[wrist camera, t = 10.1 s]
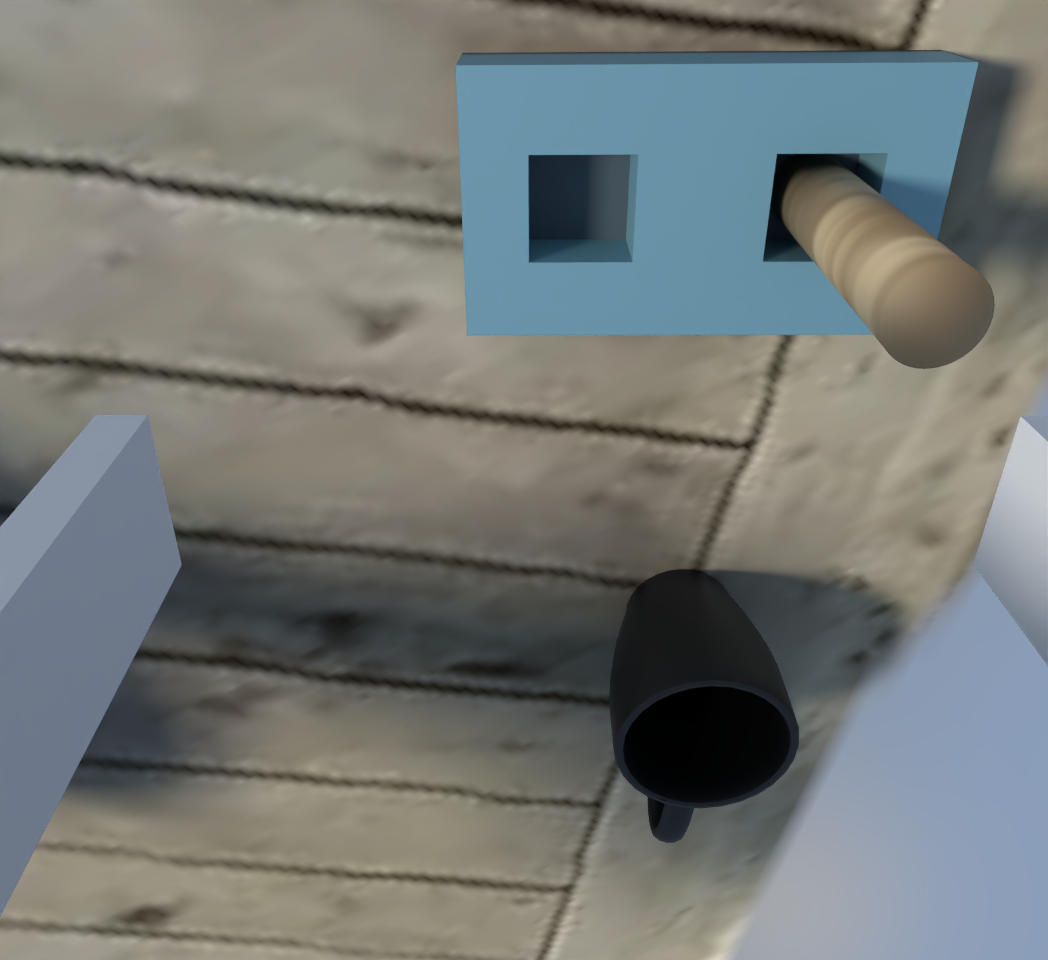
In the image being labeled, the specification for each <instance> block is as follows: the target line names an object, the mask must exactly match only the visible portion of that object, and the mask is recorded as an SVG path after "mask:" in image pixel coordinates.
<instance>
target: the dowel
mask: <svg viewBox="0 0 1048 960" xmlns="http://www.w3.org/2000/svg"><path fill="white" fill-rule="evenodd" d="M770 206H771V208H772V210H773V212H774V213H775V215H776V216H777V217H778V218H779V220H780V221H781V222H782V223H783V225H784V226H785V227H786V228H787V230H788V231H789V232H790V233H791V234H792V236H793V237H794V238H795V239H796V241H797V242H798V243H799V244H800V245H801V247H802V248H803V249H804V250H805V252H806V253H807V254H808V255H809V256H810V258H811V259H812V260H813V261H814V263H815V264H816V265H817V266H818V267H819V269H820V270H821V271H822V272H823V274H824V275H825V276H826V277H827V278H828V280H829V281H830V282H831V283H832V285H833V286H834V287H835V288H836V289H837V291H838V292H839V293H840V294H841V296H842V297H843V298H844V299H845V301H846V302H847V303H848V304H849V305H850V307H851V308H852V309H853V310H854V312H855V313H856V314H857V315H858V316H859V318H860V319H861V320H862V321H863V323H864V324H865V325H866V326H867V327H868V329H869V330H870V331H871V332H872V334H873V335H874V336H875V337H876V338H877V340H878V341H879V342H880V343H881V345H882V346H883V347H884V348H885V349H886V351H887V352H888V353H889V354H890V355H891V356H892V357H893V358H894V359H895V360H897V361H898V362H900V363H902V364H904V365H906V366H909V367H914V368H922V369H927V368H936V367H940V366H944V365H947V364H949V363H952V362H954V361H956V360H958V359H960V358H961V357H963V356H964V355H966V354H967V353H968V352H970V351H971V350H972V349H973V348H974V347H975V346H976V345H977V344H978V343H979V342H980V340H981V339H982V338H983V337H984V335H985V333H986V332H987V330H988V328H989V326H990V324H991V321H992V318H993V313H994V296H993V292H992V289H991V287H990V285H989V283H988V282H987V280H986V279H985V278H984V277H983V276H982V275H981V274H980V273H979V272H978V271H976V270H975V269H974V268H972V267H971V266H970V265H969V264H967V263H966V262H965V261H964V260H962V259H961V258H960V257H959V256H957V255H956V254H955V253H954V252H952V251H951V250H950V249H948V248H947V247H946V246H945V245H943V244H942V243H941V242H940V241H938V240H937V239H936V238H935V237H933V236H932V235H931V234H930V233H928V232H927V231H926V230H924V229H923V228H922V227H921V226H919V225H918V224H917V223H916V222H914V221H913V220H912V219H911V218H909V217H908V216H907V215H906V214H904V213H903V212H902V211H900V210H899V209H898V208H897V207H895V206H894V205H893V204H892V203H890V202H889V201H888V200H887V199H885V198H884V197H883V196H882V195H880V194H879V193H878V192H876V191H875V190H874V189H873V188H871V187H870V186H869V185H868V184H866V183H865V182H864V181H863V180H861V179H860V178H859V177H858V176H856V175H855V174H854V173H852V172H851V171H850V170H849V169H847V168H846V167H845V166H844V165H842V164H841V163H840V162H839V161H837V160H836V159H835V158H834V157H832V156H831V155H829V154H794V155H792V156H790V157H789V158H787V159H786V160H785V161H784V162H783V163H782V164H781V165H780V166H779V167H778V168H777V169H776V171H775V173H774V180H773V188H772V195H771V203H770Z"/></svg>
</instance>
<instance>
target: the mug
mask: <svg viewBox="0 0 1048 960" xmlns="http://www.w3.org/2000/svg"><path fill="white" fill-rule="evenodd" d="M609 701H610V715H611V726H612V736H613V747H614V753H615V760H616V763H617V765H618V767H619V769H620V770H621V772H622V774H623V776H624V777H625V778H626V780H627V781H628V782H629V783H630V784H631V785H632V786H633V787H634V788H635V789H637V790H638V791H640V792H641V793H643V794H644V795H646V796H647V797H648V814H649V822H650V827H651V831H652V834H653V836H655V837H656V838H657V839H658V840H660V841H663V842H666V843H674V842H676V841H679V840H681V839H682V837H683V836H684V834H685V832H686V830H687V828H688V826H689V823H690V820H691V817H692V814H693V810H694V808H709V807H719V806H724V805H728V804H732V803H736V802H740V801H743V800H745V799H747V798H750V797H752V796H755V795H757V794H759V793H760V792H762V791H763V790H765V789H767V788H768V787H770V786H771V785H773V784H774V783H775V782H776V781H777V780H778V779H779V778H780V777H781V776H782V775H783V774H784V773H785V772H786V771H787V769H788V768H789V766H790V765H791V763H792V762H793V760H794V758H795V754H796V751H797V748H798V744H799V727H798V724H797V721H796V718H795V715H794V712H793V709H792V706H791V703H790V700H789V697H788V694H787V691H786V688H785V685H784V682H783V679H782V676H781V674H780V671H779V668H778V665H777V663H776V661H775V659H774V657H773V655H772V653H771V651H770V649H769V648H768V646H767V644H766V643H765V641H764V640H763V638H762V636H761V635H760V633H759V632H758V631H757V629H756V628H755V626H754V625H753V624H752V622H751V621H750V620H749V618H748V617H747V615H746V614H745V613H744V612H743V610H742V609H741V608H740V607H739V605H738V604H737V603H736V602H735V601H734V600H733V599H732V598H731V596H730V595H729V594H728V592H727V591H726V590H725V588H724V587H723V586H722V585H721V584H720V583H719V582H718V581H717V580H715V579H714V578H712V577H710V576H708V575H706V574H704V573H701V572H697V571H692V570H673V571H667V572H664V573H661V574H658V575H655V576H653V577H652V578H650V579H648V580H646V581H645V582H644V583H642V584H641V585H640V586H639V587H638V588H637V589H636V590H635V592H634V593H633V594H632V595H631V598H630V600H629V602H628V604H627V610H626V614H625V617H624V620H623V623H622V626H621V629H620V632H619V635H618V639H617V643H616V648H615V652H614V659H613V665H612V672H611V679H610V694H609Z"/></svg>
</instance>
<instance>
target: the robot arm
mask: <svg viewBox="0 0 1048 960" xmlns="http://www.w3.org/2000/svg"><path fill="white" fill-rule="evenodd" d="M973 564H974V566H975V567H976V568H977V570H978V571H979V572H980V574H981V575H982V577H983V578H984V579H985V581H986V582H987V583H988V585H989V586H990V587H991V589H992V590H993V592H994V593H995V594H996V596H997V597H998V598H999V600H1000V601H1001V602H1002V604H1003V605H1004V606H1005V608H1006V609H1007V611H1008V612H1009V613H1010V615H1011V616H1012V617H1013V619H1014V620H1015V621H1016V623H1017V624H1018V625H1019V627H1020V628H1021V630H1022V631H1023V632H1024V634H1025V635H1026V636H1027V638H1028V639H1029V641H1030V642H1031V643H1032V645H1033V646H1034V647H1035V649H1036V650H1037V651H1038V653H1039V654H1040V655H1041V657H1042V658H1043V660H1044V661H1045V662H1046V664H1047V665H1048V416H1021V418H1020V421H1019V424H1018V427H1017V430H1016V433H1015V436H1014V439H1013V442H1012V445H1011V449H1010V452H1009V455H1008V458H1007V461H1006V464H1005V467H1004V470H1003V473H1002V476H1001V480H1000V483H999V486H998V489H997V492H996V495H995V498H994V501H993V504H992V507H991V511H990V514H989V517H988V520H987V523H986V526H985V529H984V532H983V535H982V538H981V542H980V545H979V548H978V551H977V554H976V557H975V560H974V563H973ZM181 566H182V564H181V560H180V555H179V551H178V546H177V542H176V538H175V533H174V529H173V524H172V520H171V516H170V511H169V507H168V502H167V498H166V493H165V489H164V485H163V480H162V476H161V471H160V467H159V463H158V458H157V454H156V449H155V445H154V441H153V436H152V432H151V427H150V423H149V419H148V415H96V416H95V417H94V418H93V419H92V420H91V421H90V423H89V424H88V425H87V426H86V427H85V428H84V430H83V431H82V432H81V433H80V434H79V435H78V437H77V438H76V439H75V440H74V441H73V442H72V444H71V445H70V446H69V447H68V448H67V449H66V451H65V452H64V453H63V454H62V455H61V456H60V458H59V459H58V460H57V461H56V462H55V463H54V465H53V466H52V467H51V468H50V469H49V470H48V472H47V473H46V474H45V475H44V476H43V478H42V479H41V480H40V481H39V482H38V483H37V485H36V486H35V487H34V488H33V489H32V490H31V492H30V493H29V494H28V495H27V496H26V497H25V499H24V500H23V501H22V502H21V503H20V504H19V506H18V507H17V508H16V509H15V510H14V511H13V513H12V514H11V515H10V516H9V517H8V518H7V520H6V521H5V522H4V523H3V524H2V525H1V527H0V916H1V914H2V912H3V910H4V908H5V906H6V904H7V902H8V900H9V898H10V896H11V894H12V893H13V891H14V889H15V887H16V885H17V883H18V881H19V879H20V877H21V875H22V873H23V871H24V869H25V867H26V865H27V863H28V862H29V860H30V858H31V856H32V854H33V852H34V850H35V848H36V846H37V844H38V842H39V840H40V838H41V836H42V834H43V833H44V831H45V829H46V827H47V825H48V823H49V821H50V819H51V817H52V815H53V813H54V811H55V809H56V807H57V805H58V804H59V802H60V800H61V798H62V796H63V794H64V792H65V790H66V788H67V786H68V784H69V782H70V780H71V778H72V776H73V774H74V773H75V771H76V769H77V767H78V765H79V763H80V761H81V759H82V757H83V755H84V753H85V751H86V749H87V747H88V745H89V744H90V742H91V740H92V738H93V736H94V734H95V732H96V730H97V728H98V726H99V724H100V722H101V720H102V718H103V716H104V714H105V713H106V711H107V709H108V707H109V705H110V703H111V701H112V699H113V697H114V695H115V693H116V691H117V689H118V687H119V685H120V684H121V682H122V680H123V678H124V676H125V674H126V672H127V670H128V668H129V666H130V664H131V662H132V660H133V658H134V656H135V655H136V653H137V651H138V649H139V647H140V645H141V643H142V641H143V639H144V637H145V635H146V633H147V631H148V629H149V627H150V625H151V624H152V622H153V620H154V618H155V616H156V614H157V612H158V610H159V608H160V606H161V604H162V602H163V600H164V598H165V596H166V595H167V593H168V591H169V589H170V587H171V585H172V583H173V581H174V579H175V577H176V575H177V573H178V571H179V569H180V567H181Z"/></svg>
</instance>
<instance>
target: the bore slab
mask: <svg viewBox="0 0 1048 960" xmlns="http://www.w3.org/2000/svg"><path fill="white" fill-rule="evenodd" d="M978 63H979V62H976V61H973V60H970V59H967V58H964V57H961V56H958V55H954V54H951V53H948V52H945V51H942V50H864V51H708V52H552V53H462V55H461V57H460V59H459V61H458V62H457V64H456V83H457V106H458V130H459V154H460V177H461V201H462V225H463V248H464V272H465V296H466V319H467V336H471V335H873V334H872V332H871V331H870V330H869V329H868V327H867V326H866V325H865V324H864V323H863V321H862V320H861V319H860V318H859V316H858V315H857V314H856V313H855V312H854V310H853V309H852V308H851V307H850V305H849V304H848V303H847V302H846V301H845V299H844V298H843V297H842V296H841V294H840V293H839V292H838V291H837V289H836V288H835V287H834V286H833V285H832V283H831V282H830V281H829V280H828V278H827V277H826V276H825V275H824V274H823V272H822V271H821V270H820V269H819V267H818V266H817V265H816V264H815V263H814V261H813V260H812V259H811V258H810V256H809V255H808V254H807V253H806V252H805V250H804V249H803V248H802V247H801V245H800V244H799V243H798V242H797V241H796V239H795V238H794V237H793V236H792V234H791V233H790V232H789V231H788V230H787V228H786V227H785V226H784V225H783V223H782V222H781V221H780V220H779V218H778V217H777V216H776V215H775V213H774V212H773V210H772V208H771V206H770V203H771V195H772V188H773V180H774V173H775V171H776V169H777V168H778V167H779V166H780V165H781V164H782V163H783V162H784V161H785V160H786V159H787V158H789V157H790V156H792V155H794V154H829V155H831V156H832V157H834V158H835V159H836V160H837V161H839V162H840V163H841V164H842V165H844V166H845V167H846V168H847V169H849V170H850V171H851V172H852V173H854V174H855V175H856V176H858V177H859V178H860V179H861V180H863V181H864V182H865V183H866V184H868V185H869V186H870V187H871V188H873V189H874V190H875V191H876V192H878V193H879V194H880V195H882V196H883V197H884V198H885V199H887V200H888V201H889V202H890V203H892V204H893V205H894V206H895V207H897V208H898V209H899V210H900V211H902V212H903V213H904V214H906V215H907V216H908V217H909V218H911V219H912V220H913V221H914V222H916V223H917V224H918V225H919V226H921V227H922V228H923V229H924V230H926V231H927V232H928V233H930V234H931V235H932V236H933V237H935V238H936V239H937V240H938V236H939V232H940V227H941V223H942V219H943V214H944V210H945V206H946V201H947V197H948V193H949V188H950V184H951V180H952V175H953V171H954V167H955V162H956V158H957V154H958V149H959V145H960V141H961V136H962V132H963V128H964V123H965V119H966V115H967V110H968V106H969V102H970V97H971V93H972V89H973V84H974V80H975V76H976V71H977V67H978Z"/></svg>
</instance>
